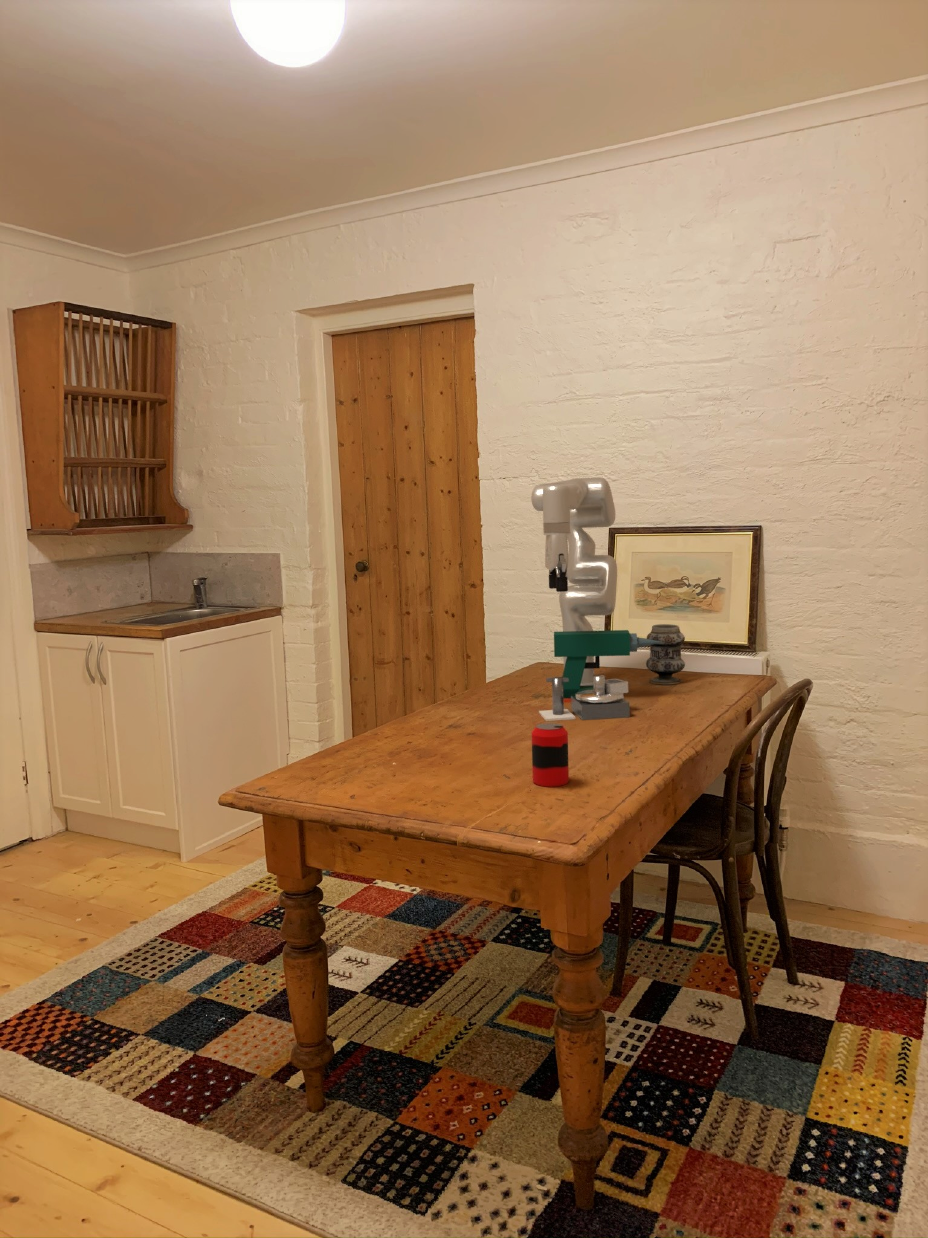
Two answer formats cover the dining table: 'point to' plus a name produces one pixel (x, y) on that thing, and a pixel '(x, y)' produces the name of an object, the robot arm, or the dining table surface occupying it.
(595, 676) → the collar
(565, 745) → the soda can
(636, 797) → the dining table surface
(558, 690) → the chuck key
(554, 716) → the key mat
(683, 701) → the dining table surface
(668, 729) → the dining table surface
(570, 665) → the power tool
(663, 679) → the apothecary jar
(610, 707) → the stand
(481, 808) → the dining table surface
